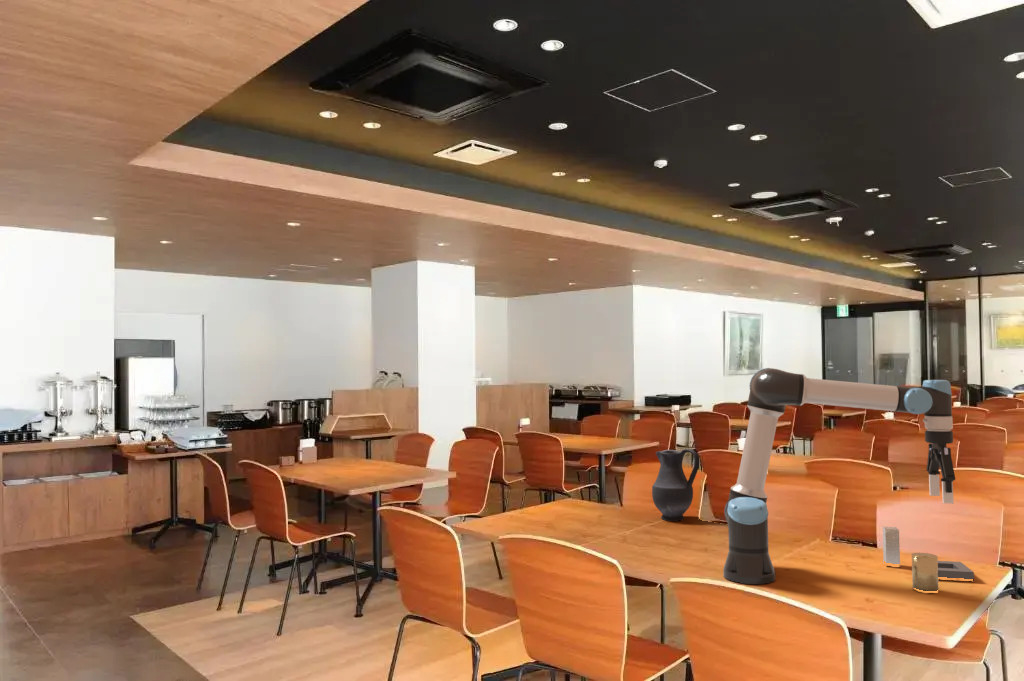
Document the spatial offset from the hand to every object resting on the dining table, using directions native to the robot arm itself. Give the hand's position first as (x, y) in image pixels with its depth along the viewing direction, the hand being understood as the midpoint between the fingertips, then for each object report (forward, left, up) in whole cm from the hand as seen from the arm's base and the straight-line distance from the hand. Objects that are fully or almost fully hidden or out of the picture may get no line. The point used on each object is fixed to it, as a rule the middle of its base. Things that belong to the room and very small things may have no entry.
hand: (941, 499), depth 230 cm
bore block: (0, 0, -23) cm, 23 cm away
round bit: (-18, +10, -23) cm, 31 cm away
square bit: (+9, +13, -23) cm, 28 cm away
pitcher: (+70, +83, -23) cm, 111 cm away
